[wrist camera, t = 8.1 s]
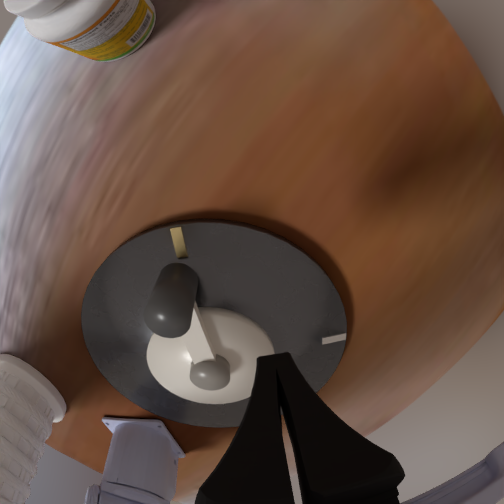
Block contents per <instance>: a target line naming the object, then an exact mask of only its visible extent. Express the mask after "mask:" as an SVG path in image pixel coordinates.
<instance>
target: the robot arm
mask: <svg viewBox="0 0 504 504" xmlns="http://www.w3.org/2000/svg"><path fill="white" fill-rule="evenodd" d="M256 362H257V363H256V373H255V379H254V384H253V388H252V392H251V396H250V399H249V402H248V405H247V408H246V411H245V414H244V416H243V419H242V421H241V424H240V426H239V428H238V430H237V432H236V434H235V436H234V438H233V440H232V442H231V444H230V446H229V448H228V449H227V451H226V453H225V454H224V456H223V457H222V459H221V460H220V462H219V463H218V465H217V466H216V468H215V469H214V471H213V472H212V473H211V474H210V476H209V477H208V478H207V479H206V481H205V482H204V483H203V484H202V486H201V487H200V488H199V491H198V494H197V496H196V500H195V504H295V502H294V496H293V492H292V486H291V481H290V475H289V470H288V464H287V459H286V453H285V448H284V442H283V437H282V422H281V409H282V412H283V416H284V419H285V423H286V426H287V430H288V433H289V437H290V440H291V444H292V447H293V452H294V457H295V462H296V468H297V474H298V479H299V485H300V490H301V497H302V503H303V504H496V503H497V502H498V501H500V500H501V499H502V498H503V497H504V442H503V443H501V444H500V445H499V446H497V447H496V448H495V449H494V450H492V451H491V452H490V453H489V454H488V455H487V456H486V457H485V459H483V460H482V461H480V462H479V463H477V464H475V465H474V466H472V467H471V468H469V469H467V470H466V471H464V472H462V473H461V474H459V475H457V476H456V477H454V478H452V479H450V480H448V481H447V482H445V483H443V484H441V485H439V486H437V487H435V488H433V489H431V490H429V491H427V492H425V493H423V494H421V495H419V496H416V497H414V498H412V499H410V500H407V501H405V502H403V503H399V500H398V497H397V496H398V495H399V492H398V490H397V486H398V485H399V484H400V483H401V481H402V480H403V479H404V477H405V474H404V470H403V468H402V467H401V465H400V463H399V462H398V460H397V459H396V457H395V456H394V455H393V454H392V453H390V452H388V451H386V450H384V449H382V448H380V447H379V446H377V445H375V444H373V443H372V442H371V441H369V440H368V439H366V438H364V437H363V436H362V435H360V434H359V433H358V432H356V431H355V430H354V429H352V428H351V427H350V426H348V425H347V424H346V423H345V422H344V421H343V420H341V419H340V418H339V417H338V416H337V415H336V414H335V413H334V412H333V411H332V410H331V409H330V408H329V407H328V406H327V405H326V404H325V403H324V402H323V401H322V400H321V398H320V397H319V396H318V395H317V394H316V393H315V391H314V390H313V389H312V388H311V386H310V385H309V384H308V382H307V381H306V380H305V378H304V377H303V375H302V374H301V372H300V371H299V369H298V367H297V366H296V364H295V362H294V360H293V358H292V356H291V354H290V353H289V352H284V353H278V354H272V355H265V356H259V357H258V358H257V359H256ZM280 405H281V407H280ZM102 421H103V423H104V424H105V425H106V426H107V427H108V428H109V430H110V431H111V432H112V433H113V436H112V440H111V444H110V448H109V452H108V456H107V460H106V464H105V468H104V472H103V477H102V481H101V484H100V486H98V485H96V484H93V486H89V487H88V489H87V493H86V497H85V501H84V504H170V501H171V500H172V499H173V497H174V495H175V492H176V480H177V468H178V458H184V457H185V453H184V452H183V450H182V449H181V448H180V446H179V445H178V444H177V442H176V441H175V439H174V438H173V437H172V435H171V434H170V432H169V431H168V429H167V428H166V426H165V425H164V423H163V422H162V421H161V420H149V419H125V418H110V417H103V418H102Z"/></svg>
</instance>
